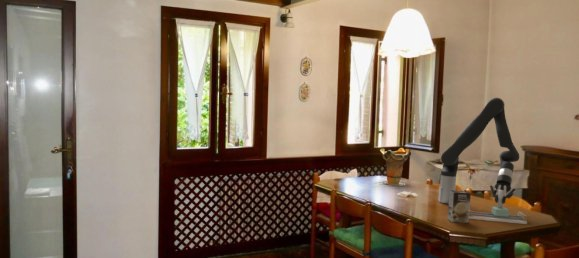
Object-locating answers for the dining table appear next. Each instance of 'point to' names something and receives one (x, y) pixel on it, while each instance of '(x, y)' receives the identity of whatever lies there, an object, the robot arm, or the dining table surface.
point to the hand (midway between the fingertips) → (499, 202)
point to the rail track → (499, 217)
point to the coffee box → (459, 206)
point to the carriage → (500, 206)
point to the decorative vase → (395, 165)
